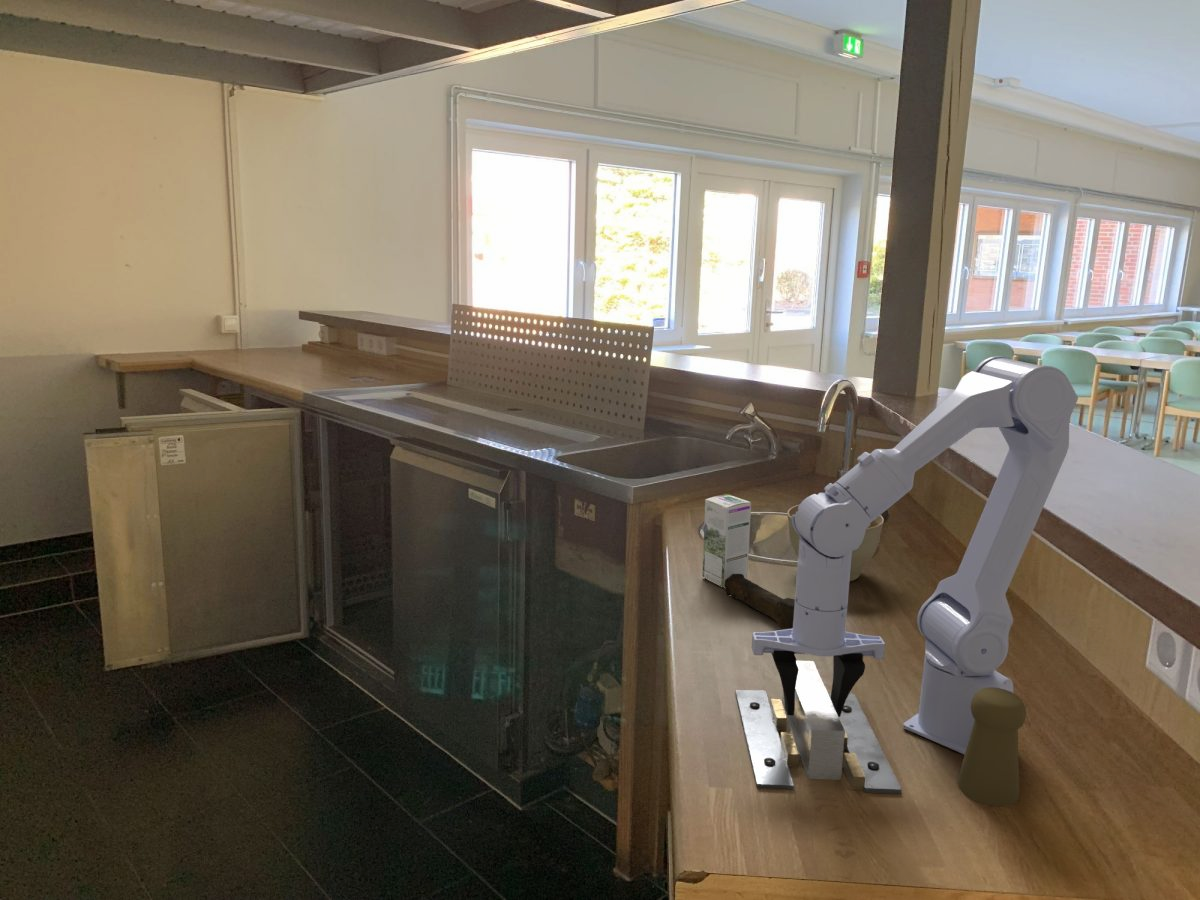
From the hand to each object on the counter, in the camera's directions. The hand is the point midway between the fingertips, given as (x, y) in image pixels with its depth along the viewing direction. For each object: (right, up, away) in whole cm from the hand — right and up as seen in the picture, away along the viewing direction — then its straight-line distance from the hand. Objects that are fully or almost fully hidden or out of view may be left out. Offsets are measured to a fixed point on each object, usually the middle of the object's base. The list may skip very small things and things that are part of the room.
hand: (812, 711), depth 99 cm
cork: (+17, -6, -8) cm, 19 cm away
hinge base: (0, -3, +1) cm, 3 cm away
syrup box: (-3, +8, +49) cm, 49 cm away
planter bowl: (+16, +8, +53) cm, 56 cm away
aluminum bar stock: (0, -4, +1) cm, 4 cm away
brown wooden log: (+2, +4, +35) cm, 35 cm away
